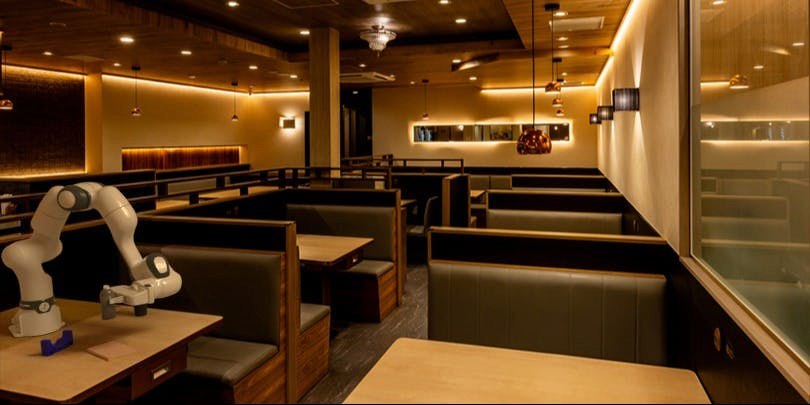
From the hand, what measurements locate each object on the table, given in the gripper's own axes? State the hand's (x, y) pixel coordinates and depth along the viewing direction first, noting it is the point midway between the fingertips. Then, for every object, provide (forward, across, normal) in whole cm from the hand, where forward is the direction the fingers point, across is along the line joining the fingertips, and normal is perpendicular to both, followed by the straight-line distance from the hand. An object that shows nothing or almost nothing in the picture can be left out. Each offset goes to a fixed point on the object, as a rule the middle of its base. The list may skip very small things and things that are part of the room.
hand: (104, 300), depth 206 cm
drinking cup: (-31, -33, +20) cm, 49 cm away
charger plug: (-1, 0, +7) cm, 7 cm away
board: (-1, 0, +20) cm, 20 cm away
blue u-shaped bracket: (+10, -19, +20) cm, 30 cm away
